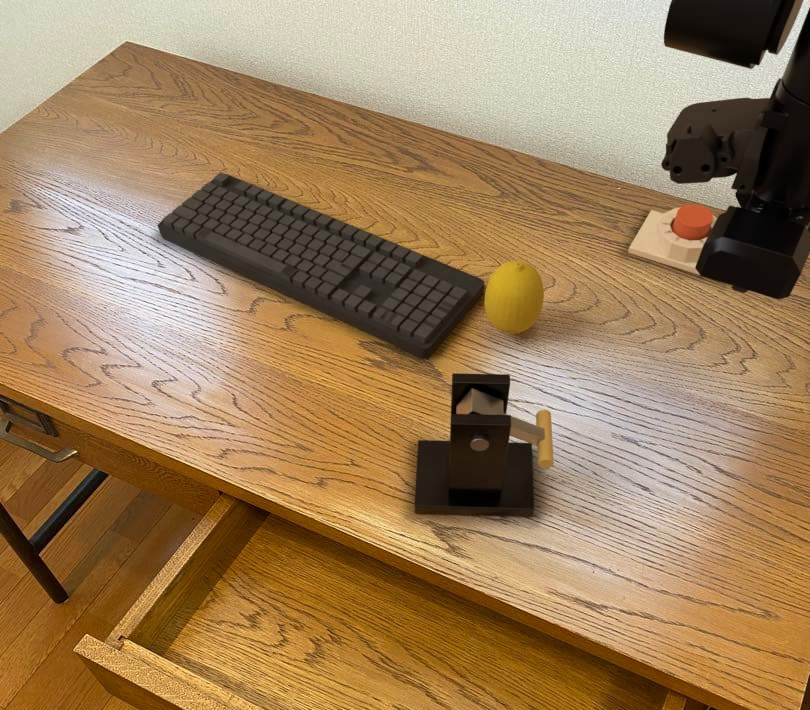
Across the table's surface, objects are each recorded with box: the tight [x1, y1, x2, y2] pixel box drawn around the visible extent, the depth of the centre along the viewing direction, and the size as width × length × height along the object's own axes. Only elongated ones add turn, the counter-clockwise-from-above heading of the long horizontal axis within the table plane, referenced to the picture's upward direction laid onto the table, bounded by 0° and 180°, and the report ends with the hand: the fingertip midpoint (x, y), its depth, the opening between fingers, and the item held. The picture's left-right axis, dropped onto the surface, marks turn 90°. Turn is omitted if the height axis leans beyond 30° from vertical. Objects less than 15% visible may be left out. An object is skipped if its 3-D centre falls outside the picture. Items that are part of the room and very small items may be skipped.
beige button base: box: [627, 207, 718, 276], centre depth 78 cm, size 10×7×2 cm
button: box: [673, 204, 714, 241], centre depth 77 cm, size 4×4×2 cm
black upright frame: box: [414, 373, 535, 518], centre depth 60 cm, size 10×7×11 cm
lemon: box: [484, 260, 545, 335], centre depth 70 cm, size 6×6×8 cm
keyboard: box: [157, 171, 485, 359], centre depth 79 cm, size 35×11×2 cm, turn 57°
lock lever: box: [456, 388, 555, 469], centre depth 58 cm, size 8×5×2 cm, turn 87°
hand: (739, 288), depth 59 cm, fingers closed
